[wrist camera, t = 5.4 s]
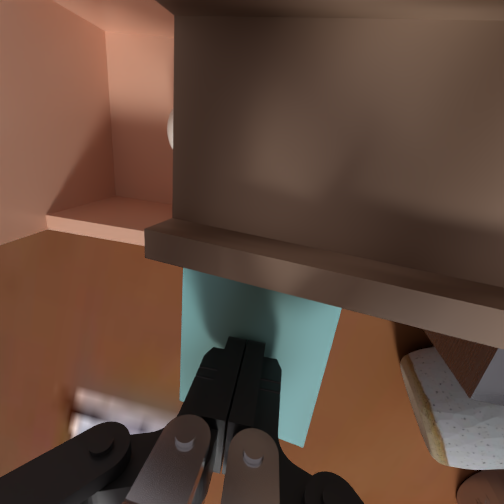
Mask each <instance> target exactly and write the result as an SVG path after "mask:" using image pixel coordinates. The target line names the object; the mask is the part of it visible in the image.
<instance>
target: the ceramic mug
mask: <svg viewBox="0 0 504 504" xmlns="http://www.w3.org/2000/svg"><path fill="white" fill-rule="evenodd" d="M400 367H401V372H402V376H403V379H404V383H405V386H406V390H407V393H408V396H409V399H410V402H411V405H412V408H413V411H414V414H415V417H416V420H417V423H418V426H419V428H420V431H421V434H422V436H423V439H424V441H425V444H426V446H427V448H428V450H429V452H430V454H431V456H432V457H433V458H434V459H435V460H437V461H438V462H439V463H441V464H443V465H446V466H452V467H457V468H463V469H472V470H491V469H504V406H501V405H496V404H491V403H486V402H481V401H476V400H472V399H469V397H468V396H467V394H466V393H465V391H464V390H463V388H462V387H461V385H460V384H459V382H458V381H457V379H456V378H455V376H454V375H453V373H452V372H451V370H450V369H449V367H448V366H447V364H446V363H445V362H444V360H443V359H442V357H441V356H440V354H439V353H438V351H437V350H436V348H435V347H431V348H425V349H420V350H417V351H414V352H411V353H409V354H407V355H405V356H404V357H403V358H402V360H401V362H400Z"/></svg>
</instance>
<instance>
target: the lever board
mask: <svg viewBox="0 0 504 504" xmlns="http://www.w3.org/2000/svg"><path fill="white" fill-rule="evenodd" d="M155 1H157V2H158V3H159V4H160V5H162V6H163V7H164V8H165V9H167V10H168V11H169V12H170V13H172V14H173V15H174V98H173V200H172V218H171V219H168V220H166V221H163V222H161V223H158V224H155V225H153V226H150V227H148V228H145V229H144V239H145V258H148V259H152V260H155V261H159V262H163V263H167V264H171V265H175V266H179V267H183V295H182V333H181V370H180V401H183V402H184V400H185V398H186V396H187V393H188V391H189V389H190V387H191V384H192V382H193V380H194V377H195V376H196V373H197V371H198V368H199V366H200V364H201V361H202V359H203V357H204V355H205V354H206V353H207V352H208V351H209V350H210V349H212V348H213V347H217V348H222V349H224V348H225V346H226V343H227V340H228V337H229V336H231V337H236V338H242V339H247V342H248V340H253V341H258V342H263V343H266V345H265V352H264V357H269V358H274V359H277V360H278V362H279V365H280V367H281V369H282V376H281V392H280V409H279V426H278V438H279V439H282V440H284V441H287V442H290V443H292V444H295V445H297V446H300V447H303V446H304V442H305V439H306V435H307V432H308V428H309V424H310V421H311V417H312V414H313V410H314V406H315V403H316V399H317V396H318V392H319V388H320V385H321V381H322V378H323V374H324V370H325V367H326V363H327V360H328V356H329V352H330V349H331V345H332V342H333V338H334V334H335V331H336V327H337V324H338V320H339V316H340V313H341V309H342V308H343V309H347V310H351V311H355V312H359V313H363V314H367V315H371V316H374V317H378V318H382V319H386V320H390V321H394V322H398V323H402V324H406V325H410V326H414V327H417V328H421V329H425V330H429V331H433V332H437V333H441V334H445V335H449V336H453V337H457V338H461V339H464V340H468V341H472V342H476V343H480V344H484V345H488V346H492V347H496V348H500V349H504V0H155ZM246 346H247V344H246Z"/></svg>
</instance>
